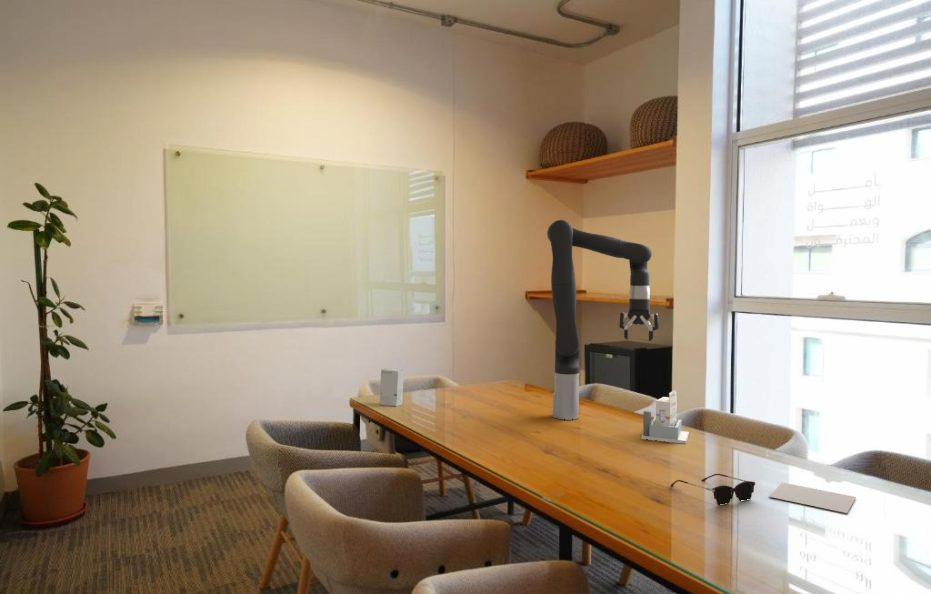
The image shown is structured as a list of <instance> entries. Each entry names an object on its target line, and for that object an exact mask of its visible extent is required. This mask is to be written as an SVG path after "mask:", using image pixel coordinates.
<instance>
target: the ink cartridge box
mask: <svg viewBox="0 0 931 594" xmlns="http://www.w3.org/2000/svg"><path fill="white" fill-rule="evenodd" d="M677 397H678V396H677V390H676V389H675V390H672V391H670V392H669V393H668V396H662V397H661V398H658V399H657V400H656V401H655V417H656V425H662V426H672V427H675V426H676V424H677V411H678V410H677V409H678V408H677V403H678V398H677Z"/></svg>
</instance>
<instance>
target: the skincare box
mask: <svg viewBox="0 0 931 594" xmlns="http://www.w3.org/2000/svg"><path fill="white" fill-rule="evenodd" d="M380 372H381V373H380V386H379V387H380V389H379V406H390V407H391V406H392V407H398V406H401V405H403V399H404V398H403V397H404V396H403V394H404V379H405V378H404V376H405V374H404V373H405V369H399V368H391V367H389V368H388V367H386V368H381V369H380Z"/></svg>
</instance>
